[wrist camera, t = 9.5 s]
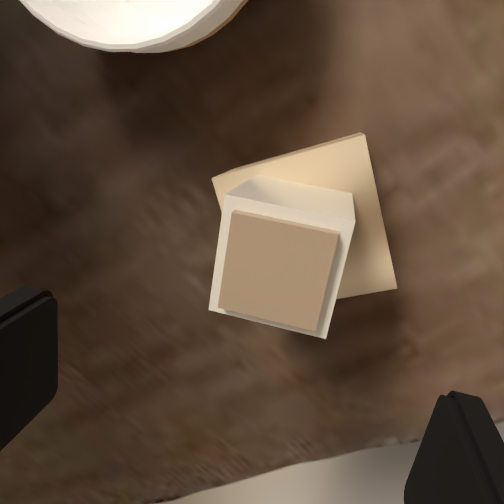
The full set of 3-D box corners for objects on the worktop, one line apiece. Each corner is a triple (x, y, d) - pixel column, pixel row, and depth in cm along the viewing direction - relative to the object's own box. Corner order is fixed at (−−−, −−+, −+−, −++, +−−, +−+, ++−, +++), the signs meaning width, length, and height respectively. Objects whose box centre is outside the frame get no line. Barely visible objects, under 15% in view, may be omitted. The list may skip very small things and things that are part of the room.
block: (235, 167, 30) (211, 178, 25) (360, 132, 28) (364, 135, 22) (268, 280, 32) (252, 314, 27) (387, 257, 30) (397, 288, 24)
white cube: (257, 174, 24) (220, 196, 17) (352, 193, 23) (355, 224, 16) (243, 262, 26) (204, 315, 19) (330, 282, 25) (325, 346, 18)
